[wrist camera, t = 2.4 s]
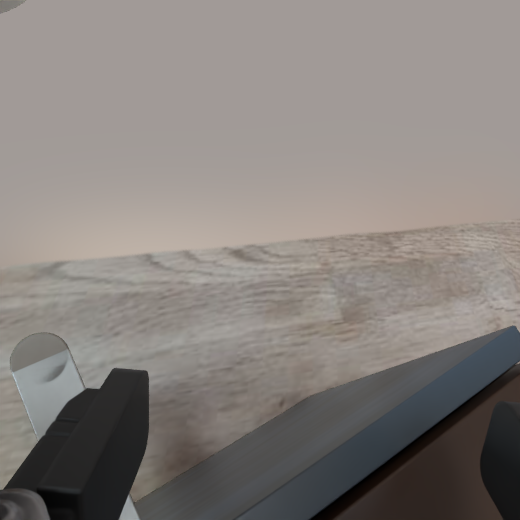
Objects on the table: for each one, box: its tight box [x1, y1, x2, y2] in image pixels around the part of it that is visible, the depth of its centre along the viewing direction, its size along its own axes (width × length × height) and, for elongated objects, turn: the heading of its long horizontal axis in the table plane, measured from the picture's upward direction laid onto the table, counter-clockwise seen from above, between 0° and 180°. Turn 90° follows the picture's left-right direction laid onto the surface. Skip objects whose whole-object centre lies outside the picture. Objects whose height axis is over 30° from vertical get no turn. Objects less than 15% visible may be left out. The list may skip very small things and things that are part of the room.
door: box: [10, 326, 520, 520], centre depth 20 cm, size 8×16×18 cm, turn 120°
